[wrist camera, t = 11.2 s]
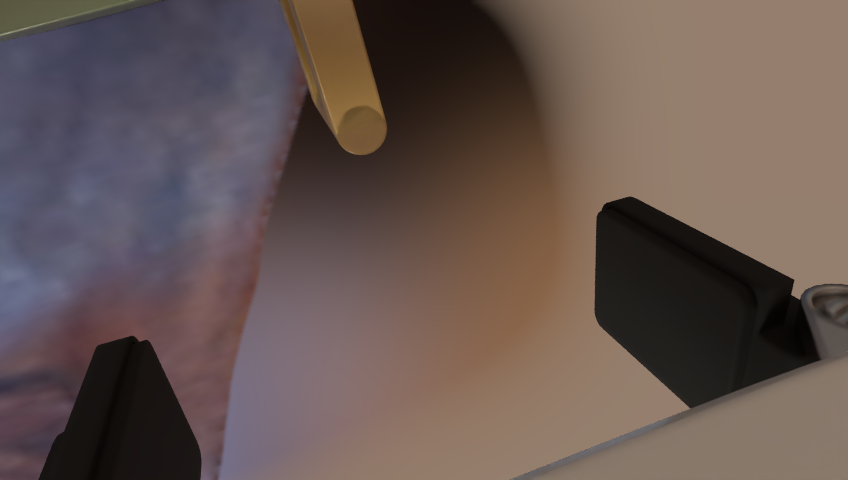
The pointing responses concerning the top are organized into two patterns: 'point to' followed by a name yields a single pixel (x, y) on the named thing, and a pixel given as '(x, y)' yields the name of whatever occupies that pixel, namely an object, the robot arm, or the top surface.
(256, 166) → the top surface
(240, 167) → the top surface
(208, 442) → the top surface
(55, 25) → the door
